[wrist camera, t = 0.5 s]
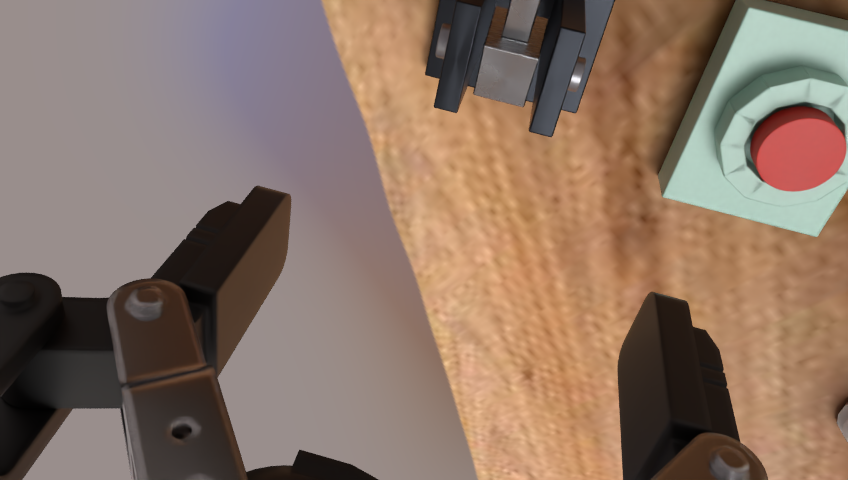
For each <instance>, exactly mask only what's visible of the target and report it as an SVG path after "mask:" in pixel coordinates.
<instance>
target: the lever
mask: <svg viewBox="0 0 848 480" xmlns="http://www.w3.org/2000/svg"><path fill="white" fill-rule="evenodd" d="M540 2H541V0H510V2H509V6H508V9H507V8H503V7H499V6H496V7H495V10H494V13H493V16H492V20H491V23H490V26H489V30H488V33H487V36H486V40H485V43H484V47H483V51H482V56H481V60H480V65H479V70H478V74H477V79H476V83H475V88H474V92H473V94H474V95H477V96H481V97H485V98H489V99H492V100H496V101H500V102H504V103H508V104H512V105H516V106H520V107H524V105H525V102H526V99H527V95H528V92H529V89H530V86H531V83H532V80H533V77H534V74H535V71H536V67H537V64H538V61H539V57H540V53H541V49H542V45H543V41H544V36H545V32H546V28H547V24H548V19H547V18H543V17H539V16H537V12H538V9H539V5H540Z"/></svg>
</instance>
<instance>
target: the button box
mask: <svg viewBox="0 0 848 480" xmlns="http://www.w3.org/2000/svg"><path fill="white" fill-rule="evenodd" d="M797 106H806V107H813V108H816V109H819V110H821V111H823V112H824V113H826V114H827V115H828V116H829V117H830V118H831V119H832V120H833V121H834V123H835V124H836V125H837V127H838V128H839V129H840V131H841V132H842V133H843V135H844V137H845V140H846V146H847V148H846V155H845V159H844V161H843V163H842V165H841V167H840V168H839V170H838V171H837V172H836V173H835V174H834V175H833V176H832V177H831V178H830V179H829V180H827V181H826V182H824V183H823V184H821V185H819V186H817V187H815V188H812V189H808V190H804V191H796V192H790V191H783V190H779V189H776V188H774V187H772V186H770V185H769V184H767V183H766V182H765V181H764V180H763V179H762V178H761V176H760V175H759V173H758V171H757V169H756V167H755V165H754V162H753V160H752V157H751V153H750V145H751V140H752V137H753V135H754V133H755V131H756V130H757V128H758V127H759V126H760V124H761V123H762V122H763V121H764V120H766V119H767V118H768V117H769V116H771V115H773V114H774V113H776V112H778V111H781V110H783V109H786V108H790V107H797ZM658 179H659V183H660V188H661V193H662V197H664V198H668V199H672V200H676V201H680V202H684V203H688V204H691V205H695V206H699V207H703V208H707V209H711V210H714V211H718V212H722V213H726V214H730V215H734V216H738V217H741V218H745V219H749V220H753V221H757V222H761V223H764V224H768V225H772V226H776V227H780V228H784V229H788V230H791V231H795V232H799V233H803V234H807V235H811V236H814V237H817V236H818V235H819V233H820V232H821V230H822V228H823V227H824V225H825V224H826V222H827V221H828V219H829V217H830V216H831V214H832V213H833V211H834V210H835V208H836V206H837V205H838V203H839V202H840V200H841V199H842V197H843V195H844V194H845V192H846V191H847V189H848V20H844V19H840V18H836V17H832V16H828V15H824V14H820V13H815V12H811V11H807V10H803V9H799V8H795V7H791V6H787V5H783V4H778V3H774V2H770V1H766V0H736V1H735V3H734V5H733V7H732V10H731V12H730V14H729V16H728V19H727V21H726V23H725V25H724V28H723V30H722V32H721V34H720V37H719V39H718V41H717V43H716V46H715V48H714V50H713V52H712V55H711V57H710V59H709V61H708V64H707V66H706V68H705V70H704V73H703V75H702V77H701V79H700V82H699V84H698V86H697V88H696V91H695V93H694V95H693V97H692V100H691V102H690V104H689V107H688V109H687V111H686V113H685V116H684V118H683V120H682V122H681V125H680V127H679V129H678V131H677V134H676V136H675V138H674V140H673V143H672V145H671V147H670V149H669V152H668V154H667V156H666V158H665V161H664V163H663V165H662V167H661V170H660V172H659V174H658Z"/></svg>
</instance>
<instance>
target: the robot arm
mask: <svg viewBox="0 0 848 480" xmlns="http://www.w3.org/2000/svg"><path fill="white" fill-rule="evenodd" d="M290 212H291V196H290V194H287V193H283V192H279V191H276V190H272V189H268V188H265V187H260V186H256V187H254V188H253V190H252V191H251V192H250V193H249V195H248V196H247V197H246V198H245V200H244V201H243V202H242V203H241V204H237V203H234V202H230V201H227V202H225V203H223V204H221V205H219V206H217V207H215V208H213V209H212V210H209V211H208V212H207V213H206V214H205V216H204V217H203V218H202V219H201V220H200V221H199V223H198V224H197V225H196V228H193V230H192V231H191V232H190V233H189V234H188V235H187V238H186V240H185V239H184V240H183V241H182V242H181V243H180V245H179V246H178V247H177V248H176V249H175V250H174V252H173V253H172V254H171V255H170V256H169V258H168V259H167V260H166V261H165V262H164V263H163V265H162V266H161V267H160V268H159V269H158V270H157V272H156V273H155V274H154V275H153V276H152V277H151V278H150V279H141V280H136V281H132V282H129V283H127V284H125V285H123V286H121V287H119V288H118V289H117V290H115V291H114V292H113V293H112V295H111V296H110V297H109V298H75V297H62V294H61V289H60V287H59V285H58V284H57V282H55V281H54V280H53V279H52V278H49V277H47V276H45V275H42V274H36V273H17V274H10V275H6V276H3V277H0V480H22V479H23V478H24V476H25V475H26V473H27V472H28V471H29V469H30V468H31V467H32V465H33V464H34V462H35V461H36V460H37V458H38V457H39V455H40V454H41V453H42V451H43V450H44V448H45V447H46V446H47V444H48V443H49V441H50V440H51V439H52V437H53V436H54V434H55V433H56V432H57V430H58V429H59V427H60V426H61V425H62V423H63V422H64V420H65V419H66V417H67V416H68V415H69V413H70V412H71V411H72V409H73V408H120V413H121V419H122V425H123V431H124V437H125V443H126V449H127V455H128V460H129V467H130V473H131V479H132V480H378V479H376V478H375V477H373V476H371V475H369V474H367V473H366V472H364V471H362V470H360V469H358V468H357V467H355V466H353V465H351V464H347V463H344V462H341V461H337V460H334V459H330V458H326V457H323V456H320V455H316V454H313V453H309V452H306V451H302V450H299V452H298V454H297V456H296V459H295V461H294V464H293V466H284V465H283V466H270V467H265V468H259V469H255V470H252V471H248V472H246V471H245V468H244V464H243V461H242V457H241V454H240V451H239V448H238V444H237V441H236V438H235V435H234V431H233V428H232V425H231V421H230V418H229V415H228V412H227V408H226V405H225V402H224V399H223V395H222V392H221V389H220V385H219V382H218V379H217V378H218V376H219V374H220V373H221V371H222V369H223V368H224V366H225V365H226V363H227V361H228V359H229V358H230V356H231V355H232V353H233V351H234V350H235V348H236V346H237V345H238V343H239V342H240V340H241V338H242V336H243V335H244V333H245V332H246V330H247V328H248V327H249V325H250V323H251V322H252V320H253V319H254V317H255V315H256V314H257V312H258V310H259V309H260V307H261V305H262V304H263V302H264V300H265V299H266V297H267V295H268V294H269V292H270V291H271V289H272V287H273V286H274V284H275V282H276V280H277V279H278V277H279V276H280V273H281V271H282V269H283V266H284V263H285V260H286V255H287V250H288V238H289V225H290ZM726 387H727V382H726V377H725V373H723V364H722V360H721V355H720V351H719V349H718V347H717V346H716V345H715V343H714V342H713V340H712V339H711V337H710V336H709V334H708V333H707V332H706V330H703V329H699V328H695V327H693V326H692V321H691V315H690V310H689V305H688V303H687V301H685V300H681V299H677V298H673V297H670V296H666V295H662V294H658V293H655V292H650V293H649V294H648V295H647V297H646V298H645V300H644V302H643V304H642V306H641V308H640V310H639V312H638V314H637V316H636V318H635V320H634V322H633V324H632V326H631V328H630V330H629V332H628V334H627V336H626V338H625V340H624V342H623V345H622V348H621V351H620V355H619V360H618V388H619V408H620V427H621V447H622V467H623V480H768V477H767V473H766V471H765V468H764V467H763V465H762V463H761V462H760V460H759V459H758V458H757V456H756V455H755V454H754V453H753V452H752V451H751V450H750V449H748V448H747V447H746V446H745V445H743V444H742V443H740V439H739V434H738V430H737V426H736V421H735V417H734V412H733V408H732V404H731V399H730V395H729V391H728V389H727V388H726Z"/></svg>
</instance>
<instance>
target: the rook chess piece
mask: <svg viewBox="0 0 848 480" xmlns="http://www.w3.org/2000/svg"><path fill="white" fill-rule="evenodd" d="M837 424H838V426H839V428H840V430H841V432H842V434H843V436H844V437H845V439H846V441H847V442H848V403H846V405H845V406H844V407H843V408H842V410H841V411H840V413H839V414H838V420H837Z"/></svg>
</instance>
